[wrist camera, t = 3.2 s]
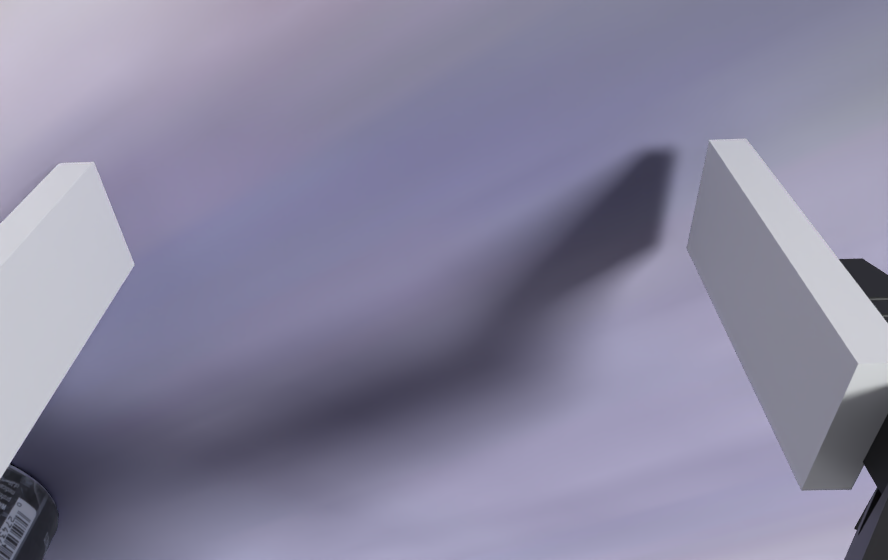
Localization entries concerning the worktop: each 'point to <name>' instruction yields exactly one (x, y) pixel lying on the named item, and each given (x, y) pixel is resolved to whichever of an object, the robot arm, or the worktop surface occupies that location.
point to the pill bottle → (25, 517)
